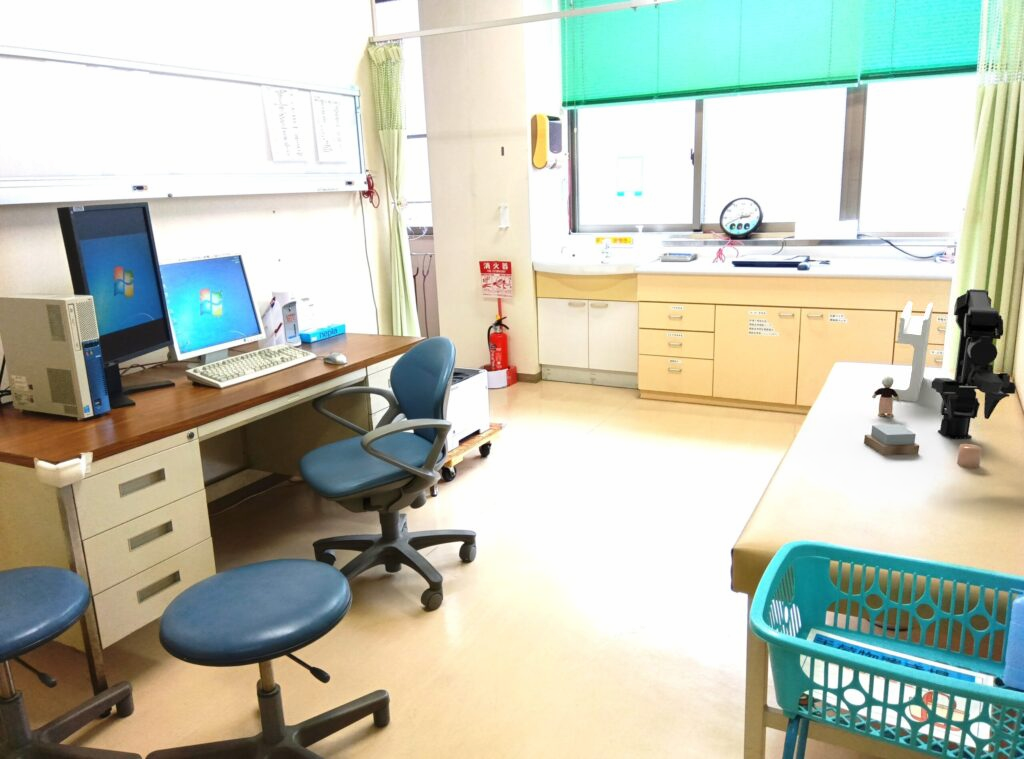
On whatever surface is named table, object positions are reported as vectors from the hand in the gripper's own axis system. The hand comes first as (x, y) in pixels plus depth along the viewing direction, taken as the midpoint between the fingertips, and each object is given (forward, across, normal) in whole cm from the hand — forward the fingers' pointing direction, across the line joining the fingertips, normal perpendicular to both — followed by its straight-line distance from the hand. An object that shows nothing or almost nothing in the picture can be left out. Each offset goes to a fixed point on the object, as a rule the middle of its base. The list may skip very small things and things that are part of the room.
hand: (968, 418), depth 196 cm
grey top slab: (+10, -12, +14) cm, 21 cm away
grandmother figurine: (+10, 0, +42) cm, 43 cm away
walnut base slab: (+13, -12, +14) cm, 22 cm away
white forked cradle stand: (+6, +23, +73) cm, 77 cm away
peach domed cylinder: (+13, +2, 0) cm, 13 cm away
